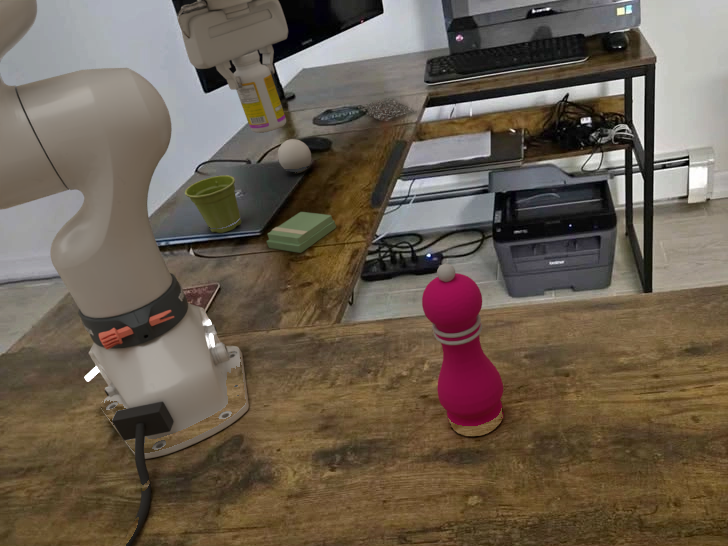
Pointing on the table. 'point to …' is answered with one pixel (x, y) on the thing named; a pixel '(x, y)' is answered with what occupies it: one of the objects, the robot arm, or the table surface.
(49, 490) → the table surface
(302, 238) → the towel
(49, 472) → the table surface
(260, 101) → the supplement bottle
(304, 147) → the white rounded piece
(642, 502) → the table surface
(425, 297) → the pepper mill
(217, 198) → the plant pot
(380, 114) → the rug
